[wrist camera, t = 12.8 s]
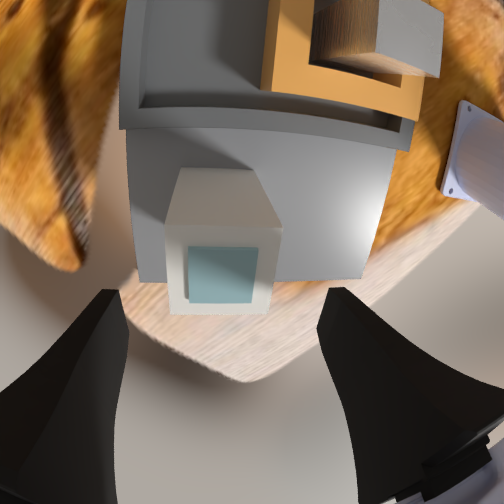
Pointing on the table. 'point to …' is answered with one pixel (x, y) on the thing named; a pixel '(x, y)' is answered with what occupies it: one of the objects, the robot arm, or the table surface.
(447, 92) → the table surface
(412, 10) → the grey rectangular block
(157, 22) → the grey rimmed tray
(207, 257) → the block
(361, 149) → the lid
